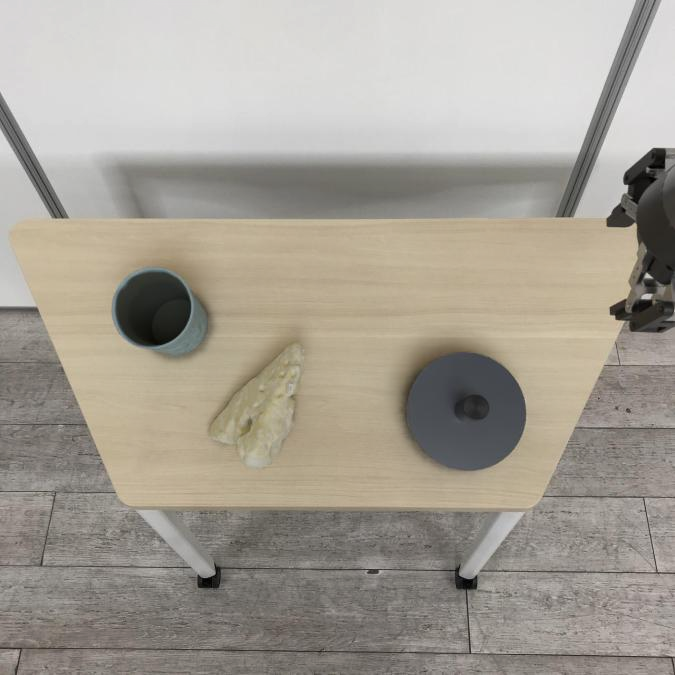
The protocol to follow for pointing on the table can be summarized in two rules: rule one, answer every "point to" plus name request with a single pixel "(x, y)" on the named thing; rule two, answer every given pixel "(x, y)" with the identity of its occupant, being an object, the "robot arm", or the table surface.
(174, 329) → the blue cup
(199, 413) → the table surface
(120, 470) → the table surface
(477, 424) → the lid
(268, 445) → the cream rock
